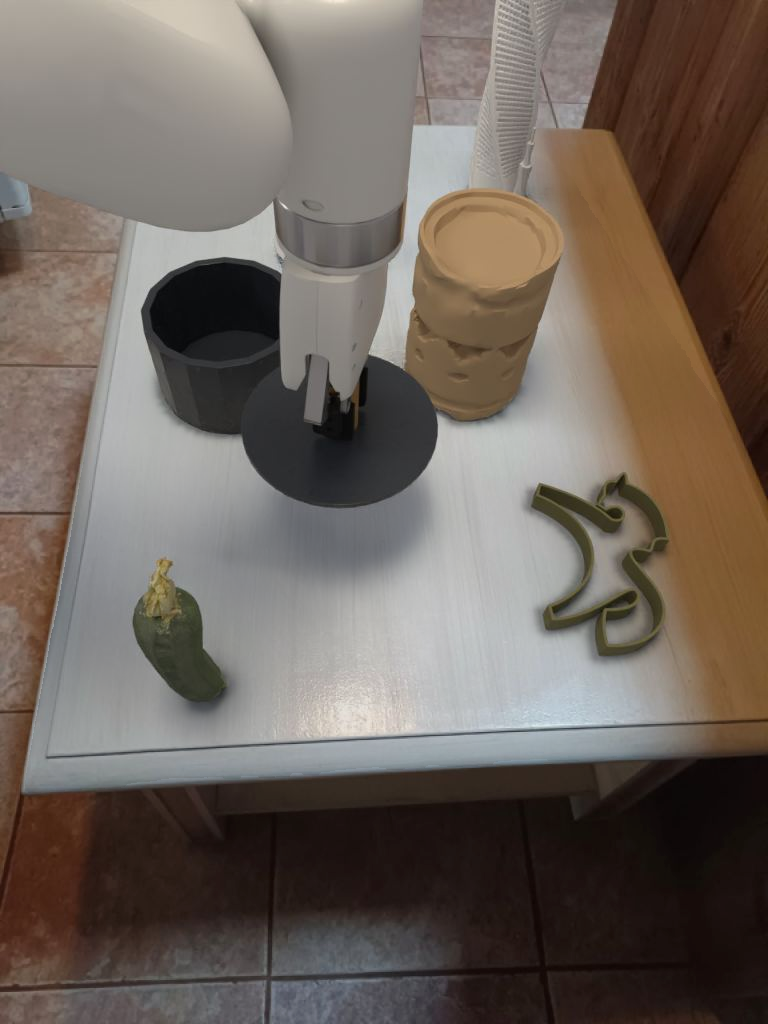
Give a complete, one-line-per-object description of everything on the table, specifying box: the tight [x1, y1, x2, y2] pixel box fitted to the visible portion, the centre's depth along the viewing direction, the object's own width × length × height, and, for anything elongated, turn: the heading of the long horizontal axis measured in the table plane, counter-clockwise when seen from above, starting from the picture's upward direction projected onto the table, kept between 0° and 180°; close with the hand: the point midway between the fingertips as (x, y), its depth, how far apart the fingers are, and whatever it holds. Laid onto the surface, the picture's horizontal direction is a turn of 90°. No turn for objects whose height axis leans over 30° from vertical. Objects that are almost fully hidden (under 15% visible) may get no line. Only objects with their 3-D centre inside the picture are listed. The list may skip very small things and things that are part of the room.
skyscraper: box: [468, 0, 567, 197], centre depth 82 cm, size 8×8×28 cm
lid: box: [240, 354, 439, 509], centre depth 56 cm, size 16×16×7 cm
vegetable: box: [131, 556, 227, 704], centre depth 50 cm, size 4×4×20 cm
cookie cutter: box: [530, 471, 670, 657], centre depth 65 cm, size 18×12×2 cm, turn 178°
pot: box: [140, 256, 282, 435], centre depth 72 cm, size 15×15×10 cm
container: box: [404, 188, 565, 422], centre depth 70 cm, size 13×13×18 cm
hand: (340, 415), depth 57 cm, fingers closed on lid, 2 cm apart
